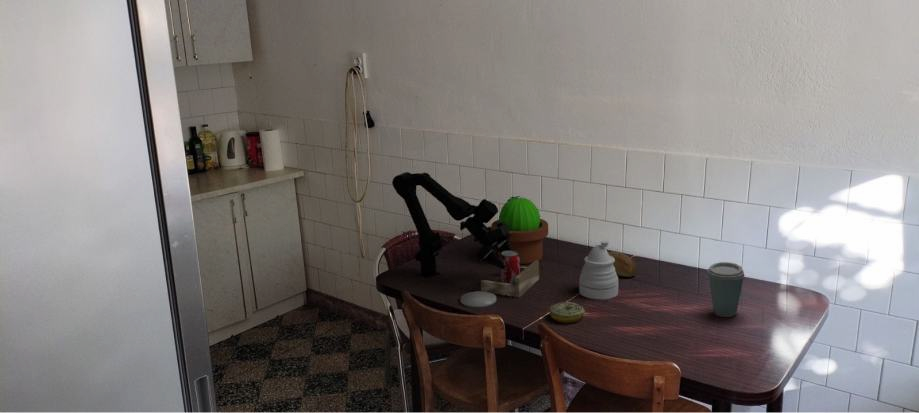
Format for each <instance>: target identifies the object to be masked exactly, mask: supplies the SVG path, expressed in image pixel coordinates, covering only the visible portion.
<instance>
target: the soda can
mask: <svg viewBox="0 0 919 413" xmlns="http://www.w3.org/2000/svg"><path fill="white" fill-rule="evenodd" d="M500 260H501V262H502V263H503V264H504V266H505V268H504V269H501V268H499V280H500V281H499V282H501V283H508V284H516V279H515V278H516V277H517V276H518V275H519V274H520V266H521V264H520V258H519V256H518V253H517V252H516V251H511V250H509V251H503V252H502V253H501V256H500Z"/></svg>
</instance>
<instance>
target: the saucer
mask: <svg viewBox="0 0 919 413" xmlns="http://www.w3.org/2000/svg"><path fill="white" fill-rule="evenodd" d="M496 302H497V296H496V294H492V293H490V292H484V291H481V290H479V291H477V290H476V291H471V292H470V291H469V292H467V293H464V294H462V295H461V297H460V303H461V304H462V305H464V306H466V307H470V308H485V307H489V306H492V305H494V304H495V303H496Z"/></svg>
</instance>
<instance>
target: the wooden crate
mask: <svg viewBox="0 0 919 413" xmlns="http://www.w3.org/2000/svg"><path fill="white" fill-rule="evenodd" d="M539 266H540V260H539V261H538V260H535V261H534V262H533V263H530V264H529V265H528V266H521V265H520V274H519V275H518V276H517V277H516V278H515V279H516V284H508V283H501V281H493V280H492V281H491V280H484V279H481V280H480V291H484V292H490V293H492V294H494V295H498V294H500V296H505V295H507V297H512V296H513V298H520V297H522V296H523V295H524V294H525V293H526V292H527V291H528V290H529V289H530V288H531V287H533V285H534V284H535V283H537V281H539V279H540V267H539Z"/></svg>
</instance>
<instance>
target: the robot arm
mask: <svg viewBox="0 0 919 413" xmlns="http://www.w3.org/2000/svg"><path fill="white" fill-rule="evenodd" d="M391 183H392V188H394V190H395V192H396V193H397V195H399V197H401V198H402V199H403V200H404V202H405V205H406V208H407V209H408V213H409V214H410V216H411V220H412V222H413V224H414V227H415V229H416V231H417V233H418V245H419V251H418V252H416V254H414V257H415V260H416V262H419V267H420V268H419V270H418V271H417V272H416V274H417V275H420V276H422V277H424V278H430V277H432V276H436V275H440V274H441V272H440V271H438V270H437V260H436V259H437V258H436V257H438V256H439V254H440V252H441V251H442V249H443V239H442V238H441V235H440V232H438V231H437V232H434V231H433V230H432V228H431V227H430V224H429V221H428V219H427V217H426V214H425V212H424V210H423V207H422V204H421V202H420V201H419V200H420V199H419V198H418V194H417V186H421V187H422V189H424V190H425V191H426V192H428V193H429V194H430V195H431V196H432V197H434V198H435V199H436V200H437V201H438V202H439V203H441V204H442V205H443V206H444V207H445V210H446V212H447V213H448V215H450V217H451V218H452V219H453V220H455V221H458V222H459V221H460V222H459V224H460V227H459V230H460V231H463V230H465V229H466V230H467V231H468V232H469V234H471V235H472V236H473V238H474V239H473V241H474V242H475V243H477V242H478V243H479V244H480V246H482V247H481V248H480V249H479V250H478V251H477V252H476V253H475V259H476V260H477V261H478V262H483V263H486V264H489V265H493V266H495V267H497V268H499V269H500V268H501V269H504V268H505V266H504V264H503V263H502V262H501V260H500V259H499V257H498V254H497V252H498V251H499V252H501V253H502V252H503V251H509V250H511V247H510V238H509V237H510V235H509V233H508V232H509V231H508V225H506V223H504V222H503V221H502V222H500V223H498V227H496V228H494V229H492V228H491V226H488V227H487V225H486V224H488V223H489V222H490V221H492V219H493V218H494V217H495V216H496V215H497V214H498V212H499V209H498V207H497V205H496V204H495V203H493V202H492V201H490V200H487V199H486V198H484V199H482V200H481V201H480V202H479V204H478V205H474V204H470V203H469V201H466V200H464V199H463V198H462V197H458V196H456V195H453V193H451V192H449V190H447V189H446V188H445V187H444V186H442V185H441V184H440V183H439V182H437V180H435V179H434V178H433V177H432V176H431V175H430V174H429V172H420V173H419V172H416V173H411V172H410V171H409V172H408V171H405V172H402V173H400V174H397V175H395V176H394V177H393V179H392V181H391ZM464 219H466V220H464ZM508 238H509V239H508ZM507 239H508V240H507ZM498 248H499V249H498ZM511 251H512V250H511Z"/></svg>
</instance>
